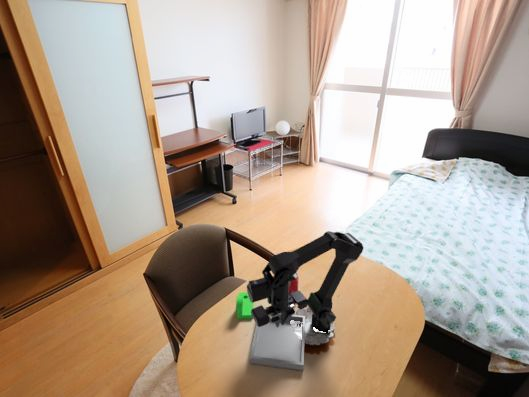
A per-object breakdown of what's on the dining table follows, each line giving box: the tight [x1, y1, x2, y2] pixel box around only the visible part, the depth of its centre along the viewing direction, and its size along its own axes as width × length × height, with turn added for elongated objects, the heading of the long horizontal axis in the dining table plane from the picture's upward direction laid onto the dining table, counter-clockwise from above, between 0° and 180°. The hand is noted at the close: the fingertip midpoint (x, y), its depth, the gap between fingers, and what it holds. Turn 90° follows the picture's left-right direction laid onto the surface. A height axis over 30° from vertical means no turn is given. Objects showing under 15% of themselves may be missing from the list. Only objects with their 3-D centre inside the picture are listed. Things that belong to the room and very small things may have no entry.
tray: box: [248, 313, 306, 372], centre depth 103 cm, size 18×20×3 cm
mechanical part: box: [236, 292, 254, 320], centre depth 117 cm, size 12×6×8 cm, turn 1°
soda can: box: [289, 272, 299, 300], centre depth 119 cm, size 7×7×13 cm
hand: (279, 325), depth 101 cm, fingers closed
